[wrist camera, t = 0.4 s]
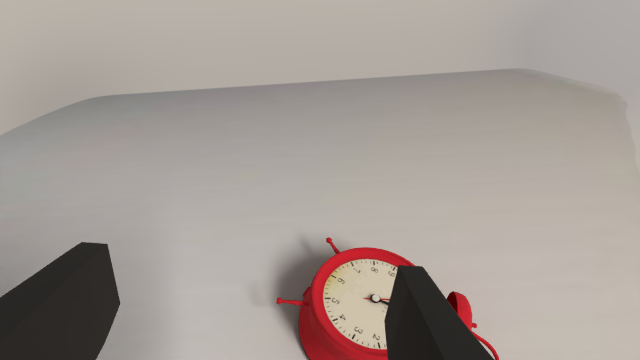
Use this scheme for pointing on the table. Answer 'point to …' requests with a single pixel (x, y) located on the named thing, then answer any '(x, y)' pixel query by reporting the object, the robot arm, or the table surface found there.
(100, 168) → the table surface
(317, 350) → the alarm clock
